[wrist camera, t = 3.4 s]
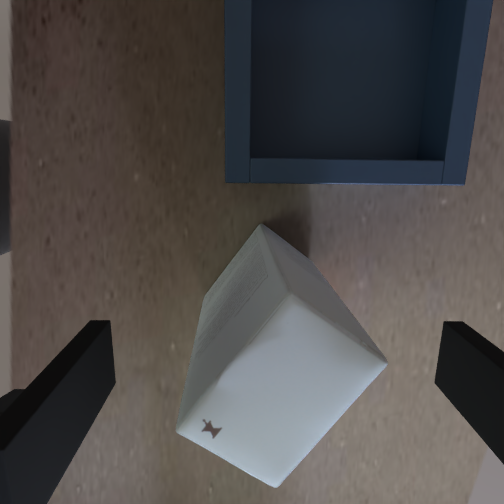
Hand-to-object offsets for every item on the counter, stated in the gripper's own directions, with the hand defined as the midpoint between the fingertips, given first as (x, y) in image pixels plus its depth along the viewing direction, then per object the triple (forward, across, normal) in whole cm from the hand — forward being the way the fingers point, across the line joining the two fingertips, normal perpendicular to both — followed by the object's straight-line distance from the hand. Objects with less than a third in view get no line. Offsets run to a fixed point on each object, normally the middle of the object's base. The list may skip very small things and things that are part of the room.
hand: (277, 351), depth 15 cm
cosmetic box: (+9, 0, 0) cm, 9 cm away
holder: (+9, +4, +12) cm, 15 cm away
